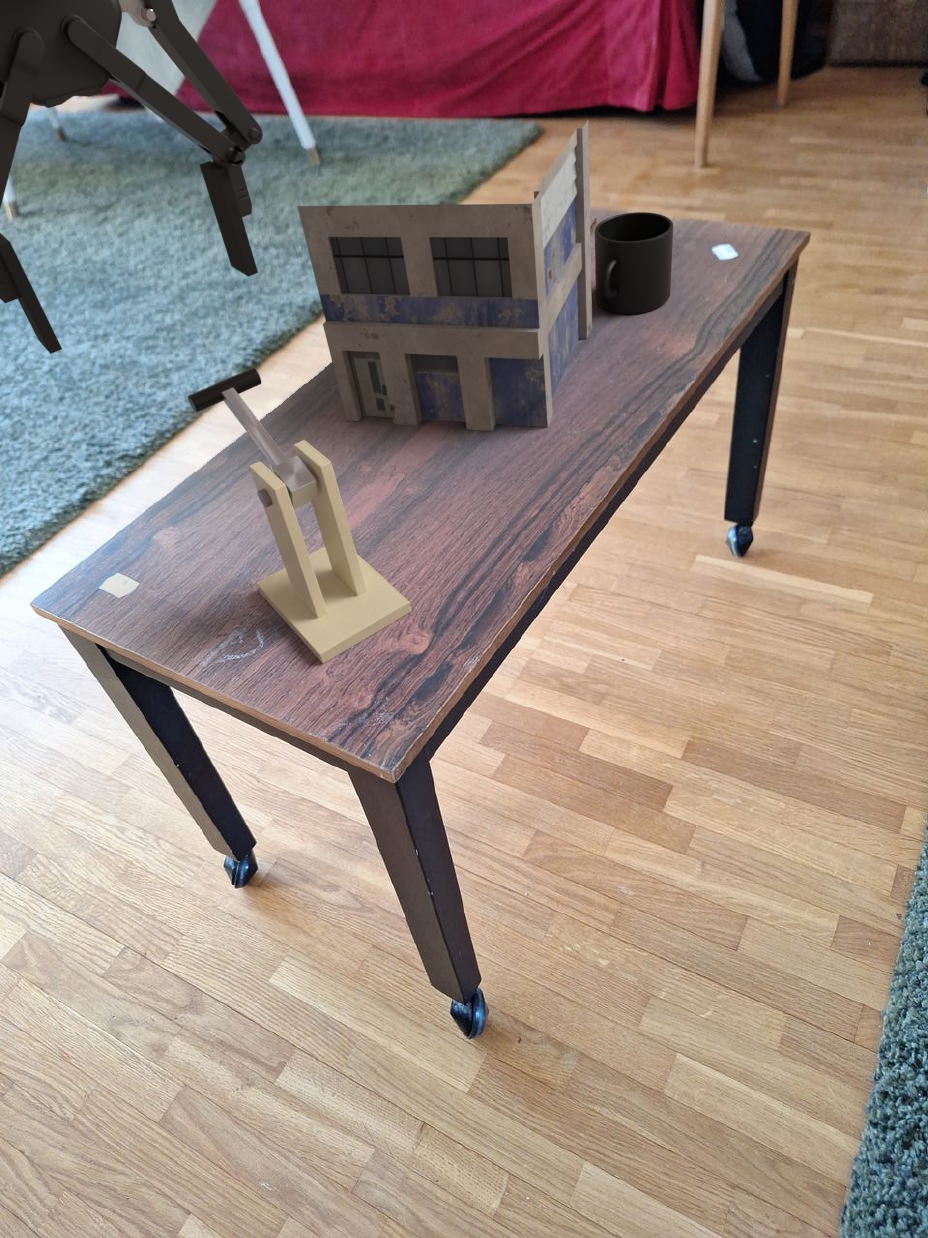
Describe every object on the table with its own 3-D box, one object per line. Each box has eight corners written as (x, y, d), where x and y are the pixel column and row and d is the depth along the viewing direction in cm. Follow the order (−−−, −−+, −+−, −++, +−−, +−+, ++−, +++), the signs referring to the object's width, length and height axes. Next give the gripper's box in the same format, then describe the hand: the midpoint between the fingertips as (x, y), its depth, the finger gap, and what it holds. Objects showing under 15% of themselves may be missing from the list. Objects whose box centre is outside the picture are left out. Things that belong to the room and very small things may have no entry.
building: (346, 420, 98) (293, 208, 82) (418, 321, 113) (386, 127, 97) (544, 434, 91) (529, 206, 75) (592, 327, 106) (588, 119, 90)
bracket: (259, 592, 78) (205, 457, 68) (342, 547, 82) (303, 411, 71) (322, 664, 71) (273, 524, 61) (412, 611, 74) (379, 470, 64)
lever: (190, 408, 71) (185, 388, 69) (254, 380, 73) (251, 359, 71) (272, 520, 67) (270, 503, 65) (338, 487, 69) (337, 469, 67)
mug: (571, 316, 109) (569, 244, 103) (618, 277, 115) (618, 207, 109) (638, 329, 105) (639, 255, 98) (683, 288, 111) (687, 216, 104)
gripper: (-306, -68, 34) (-28, 402, 49) (249, -170, 43) (343, 254, 58) (-311, -70, 39) (-55, 359, 54) (191, -162, 48) (291, 229, 62)
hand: (151, 306), depth 56 cm, fingers open, 13 cm apart
